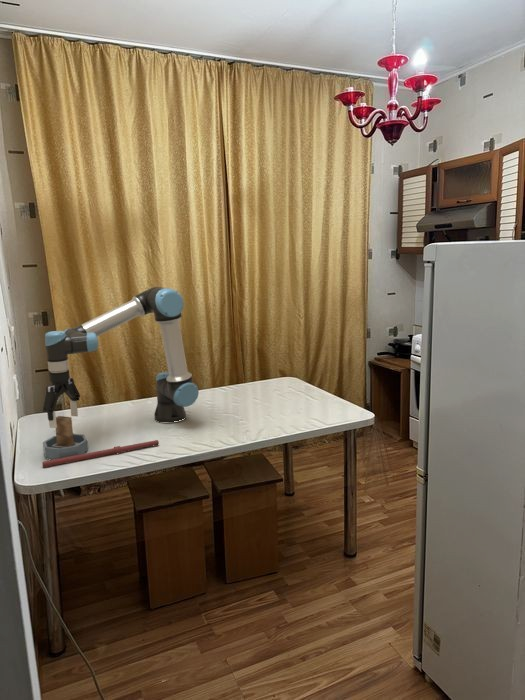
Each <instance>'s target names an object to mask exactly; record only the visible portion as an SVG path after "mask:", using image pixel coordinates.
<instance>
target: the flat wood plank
mask: <svg viewBox="0 0 525 700" xmlns="http://www.w3.org/2000/svg"><path fill="white" fill-rule="evenodd" d="M72 420H73V419H72V416H64V415H63V416H61V415H58V416H56V424H57V428H55V434H56V435H55V436H56V438H57V446H63V447H70V446H74V441H73V434H74V432H73V421H72Z"/></svg>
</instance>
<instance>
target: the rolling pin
mask: <svg viewBox="0 0 525 700" xmlns="http://www.w3.org/2000/svg"><path fill="white" fill-rule="evenodd" d="M159 443H160V442H159V440H158V439H155V440H151V441H145V442H140V443H133V444H129V445H124V446H120V445H119V446H118V445H117V446H114V447H113V448H107V449H102V450H98V451H97V450H96V451H93V452H86V453H85V454H80V455H75V456H69V457H64V458H59V459H53V460H49V459H47V460H45V461H44V460H43V461H42V463H41V464H42V468H47V467H46V466H48V467H53V466H52V465H54V466H57V465H58V464H59V465H62V464H68V463H73V462H79V460H80V461H84V460H88V459H89V460H90V459H94V458H99V457H104V456H105V455H106V456H110V454H111V455H115V454H116V455H118V454H117V453H121V454H122V453H125V452H124V451H126V452H129V451H128V450H131V451H134V450H133V449H137V450H139V449H138V448H142V447H147V448H149V447H148V446H152V447H154V446H153V445H157V446H159V445H158V444H159ZM142 449H143V448H142ZM114 453H115V454H114Z"/></svg>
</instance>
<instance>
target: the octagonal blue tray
mask: <svg viewBox="0 0 525 700" xmlns="http://www.w3.org/2000/svg"><path fill="white" fill-rule="evenodd" d="M73 441H74V446H70V447H63V446H57V438H56V435H53V436H51V437H50V438H47V440H44V441H43V442H42V449H43V453H44V457H45V458H46V459H47V458H48V459H47V460H49V459H51V460H53V459H59V458H64V457H69V456H75V455H80V454H84V453H87V452H86V451H88V450H89V443H88V439H87V437H86V436H85V434H81V433H80V434H79V433H73Z"/></svg>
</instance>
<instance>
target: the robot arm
mask: <svg viewBox="0 0 525 700" xmlns="http://www.w3.org/2000/svg"><path fill="white" fill-rule="evenodd" d="M184 303H185V302H184V299H183V297H182V294H180V293H179V292H178V291H177V290H175V289H173V288H169V287H161V286H154V287H150V288H147V289H145V290H144V291H142V292H140V293H138V294H136V295H134V296H133V297H132V298H131V300H129V301H127V302H124V303H123V304H120V305H119V306H116V307H114V308H112V309H110V310H108V311H107V312H104V313H102V314H100V315H98V316H96V317H93V318H92V319H90V320H87V321H86V322H84V323H82V324H80V325H77V326H75V327H70V328H66V329H65V330H54V331H53V330H52V331H48V332H46V333H45V334H44V343H45V344H44V345H45V351H46V353H45V354H46V359H47V370H48V371H49V372H48V378H49V382H51V386H46V387H45V388H46V389H45V390H46V392H45V397H44V403H43V408H42V413H47V414H46V415H47V420H48V423H49V428H51V429H56V428H57V424H56V417H57V416H56V411H55V409H56V405H57V403H58V400H59V398H60V397H61V395H63V394H65V395H66V396H67V397H68V398H69V399H70V400H69V405H70V417H79V412H78V401H79V400H80V398H81V394H80V392H79V390H78V389H77V386H76V384H75V381H74V378H72V377H71V376H70V375H71V374H70V370H69V369H70V365H69V357H68V356H69V355H72V354H74V355H75V354H81V353H83V354H84V353H90V352H95V351H97V350H98V349H99V339H98V337H99V336H101V335H103V334H105V333H108V332H109V331H110V330H113V329H115V328H117V327H120V326H121V325H123V324H126V323H127V322H129V321H131V320H133V319H136V318H137V317H141V316H142V317H145V316H146V315H149V314H154V315H153V317H154V321H155V322H156V323H157V324H159V328H160V329H159V330H160V333H161V339H162V345H163V351H164V355H165V360H166V366H167V371H162V372H160V373H157V374H156V377H155V384H156V398H157V399H156V401H157V402H156V403H157V404H156V408H155V411H154V416H153V417H154V418H153V419H154V421H155V420H157V421H159V422H158V423H160V422H174V421H179V420H182V419H184V418H185V417H186V418H187V411H186V410H185V408H187V407H191V406H192V405H193V404H194V403H196V401H197V399H198V397H199V393H200V392H199V387H198V386H197V385H196V384H195V383H194V378H193V375H192V373H191V372H190V371H188V370H189V369H188V365H187V360H186V354H185V347H184V342H183V337H182V330H181V325H180V320H181V319H182V312H183V309H184ZM186 418H185V419H186ZM185 419H184V420H185ZM157 421H156V422H157ZM182 421H183V420H182Z"/></svg>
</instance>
